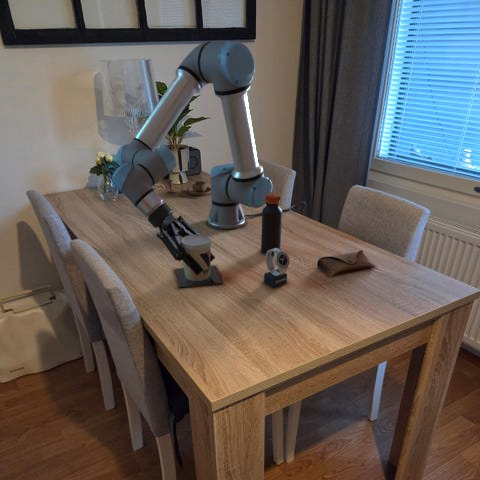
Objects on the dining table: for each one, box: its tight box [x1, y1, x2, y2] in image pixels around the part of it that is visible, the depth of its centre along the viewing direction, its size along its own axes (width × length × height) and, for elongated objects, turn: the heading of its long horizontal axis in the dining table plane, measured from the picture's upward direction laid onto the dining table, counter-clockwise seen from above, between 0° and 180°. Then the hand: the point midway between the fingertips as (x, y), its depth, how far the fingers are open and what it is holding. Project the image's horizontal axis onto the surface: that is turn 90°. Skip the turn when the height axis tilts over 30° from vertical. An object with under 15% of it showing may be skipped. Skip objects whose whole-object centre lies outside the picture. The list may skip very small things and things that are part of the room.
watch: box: [263, 248, 290, 289], centre depth 134 cm, size 6×8×11 cm
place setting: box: [166, 179, 211, 199], centre depth 219 cm, size 18×20×6 cm
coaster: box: [175, 264, 222, 289], centre depth 140 cm, size 13×13×1 cm
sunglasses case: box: [316, 249, 375, 277], centre depth 146 cm, size 18×7×7 cm, turn 115°
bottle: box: [260, 193, 283, 256], centre depth 153 cm, size 7×7×20 cm
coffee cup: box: [180, 234, 212, 281], centre depth 137 cm, size 9×9×12 cm
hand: (206, 266), depth 137 cm, fingers closed on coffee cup, 9 cm apart
